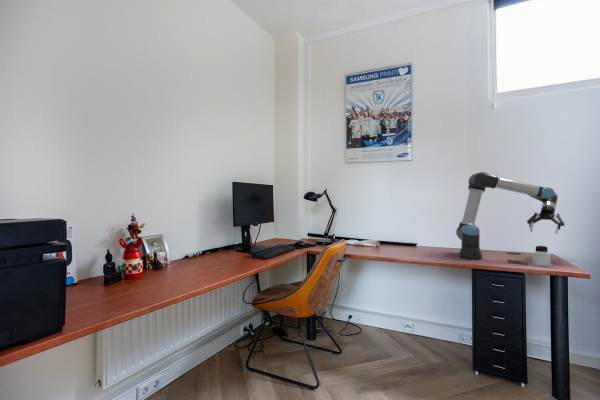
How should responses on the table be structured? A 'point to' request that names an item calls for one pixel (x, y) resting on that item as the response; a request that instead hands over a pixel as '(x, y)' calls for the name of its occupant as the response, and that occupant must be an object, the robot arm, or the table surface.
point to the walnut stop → (518, 262)
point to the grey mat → (541, 265)
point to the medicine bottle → (541, 256)
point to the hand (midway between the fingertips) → (543, 231)
